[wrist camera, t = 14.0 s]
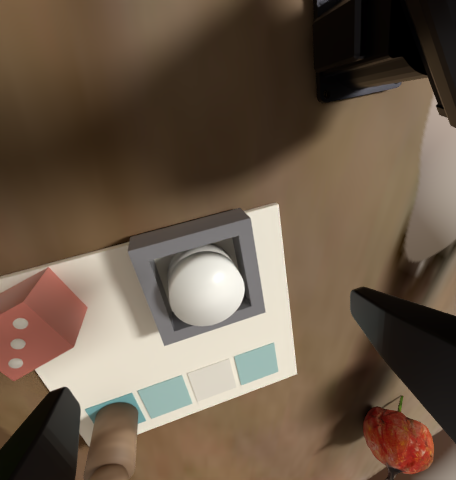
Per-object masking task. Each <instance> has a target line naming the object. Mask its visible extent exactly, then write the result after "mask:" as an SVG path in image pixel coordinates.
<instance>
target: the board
mask: <svg viewBox="0 0 456 480" xmlns="http://www.w3.org/2000/svg"><path fill="white" fill-rule="evenodd" d="M244 212H245V213H246V214H247V215H248V216H249V217H250V218H251V223H252V230H253V236H254V242H255V248H256V255H257V261H258V267H259V274H260V280H261V286H262V292H263V299H264V305H265V311H266V312H265V313H262V314H259V315H256V316H253V317H250V318H247V319H244V320H241V321H238V322H235V323H232V324H229V325H226V326H223V327H220V328H217V329H214V330H211V331H208V332H205V333H202V334H199V335H196V336H193V337H190V338H187V339H184V340H181V341H178V342H175V343H172V344H169V345H166V346H164V344H163V341H162V339H161V336H160V334H159V331H158V328H157V326H156V323H155V321H154V318H153V316H152V313H151V310H150V308H149V305H148V303H147V300H146V298H145V295H144V293H143V290H142V287H141V285H140V282H139V280H138V277H137V275H136V272H135V269H134V267H133V264H132V262H131V259H130V257H129V254H128V246H129V242H127V243H123V244H119V245H115V246H112V247H108V248H104V249H101V250H97V251H93V252H89V253H86V254H82V255H78V256H74V257H71V258H67V259H63V260H59V261H56V262H52V263H48V264H45V265H41V266H37V267H33V268H30V269H26V270H22V271H18V272H15V273H11V274H7V275H4V276H0V293H2V292H4V291H6V290H7V289H9V288H11V287H13V286H15V285H17V284H18V283H20V282H22V281H24V280H26V279H27V278H29V277H31V276H33V275H35V274H37V273H38V272H40V271H42V270H44V269H46V268H47V267H49V268H50V269H51V270H52V271H53V272H54V273H55V274H56V275H57V276H58V277H59V278H60V279H61V280H62V281H63V282H64V283H65V284H66V286H67V287H68V288H69V289H70V290H71V291H72V292H73V293H74V294H75V295H76V296H77V297H78V298H79V299H80V300H81V301H82V302H83V303H84V304H85V305H86V306H87V307H88V308H87V311H86V314H85V317H84V320H83V323H82V326H81V329H80V331H79V334H78V337H77V340H76V343H75V346H74V348H72V349H70V350H68V351H67V352H65V353H63V354H61V355H59V356H58V357H56V358H54V359H52V360H51V361H49V362H47V363H45V364H44V365H42V366H40V367H38V368H36V369H35V371H36V372H37V374H38V375H39V377H40V378H41V379H42V381H43V382H44V384H45V385H46V386H47V388H48V389H49V391H50V392H51V391H52V390H55V389H58V388H61V387H67V388H69V389H70V391H71V392H72V394H73V395H74V397H75V398H76V399H77V401H78V402H79V404H80V408H81V416H80V430H79V433H80V435H81V436H82V437H83V439H84V440H85V442H86V443H87V445H88V446H89V447H90V442H91V437H92V432H93V427H94V422H95V417H96V414H97V413H98V411H99V410H100V409H102V408H103V407H105V406H107V405H109V404H112V403H117V402H124V403H129V404H132V405H133V406H135V407H136V408H137V410H138V429H137V434H140V433H142V432H145V431H148V430H150V429H153V428H156V427H158V426H161V425H164V424H166V423H169V422H172V421H174V420H177V419H180V418H182V417H185V416H187V415H190V414H193V413H195V412H198V411H201V410H203V409H206V408H209V407H211V406H214V405H217V404H219V403H222V402H224V401H227V400H230V399H232V398H235V397H238V396H240V395H243V394H246V393H248V392H251V391H254V390H256V389H259V388H262V387H264V386H267V385H269V384H272V383H275V382H277V381H280V380H283V379H285V378H288V377H291V376H293V375H296V374H297V369H296V360H295V351H294V342H293V333H292V323H291V314H290V305H289V296H288V287H287V278H286V269H285V259H284V250H283V241H282V232H281V223H280V214H279V205H278V204H277V203H272V204H268V205H265V206H261V207H257V208H253V209H250V210H246V211H244ZM212 244H215V245H217V246H219V247H221V248H222V249H224V250H225V251H226V252H227V253H228V255H229V256H230V258H231V260H232V261H233V263H234V265H235V266H236V268H237V270H238V265H237V259H236V254H235V249H234V244H233V239H232V238H228V239H225V240H221V241H218V242H214V243H212ZM175 254H176V253H175ZM175 254H172V255H168V256H165V257H161V258H158V259H154V261H155V264H156V267H157V270H158V273H159V276H160V279H161V281H162V284H163V287H164V290H165V293H166V296H167V299H168V302H169V305H170V301H169V291H168V282H167V269H168V266H169V263H170V261H171V259H172V258H173V257H174V255H175ZM238 272H239V270H238ZM170 307H171V306H170ZM171 310H172V309H171Z"/></svg>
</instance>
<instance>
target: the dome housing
mask: <svg viewBox="0 0 456 480" xmlns="http://www.w3.org/2000/svg"><path fill="white" fill-rule="evenodd" d="M228 238H232V239H233V244H234V249H235V254H236V259H237V265H238V270H239V273H240V275H241V277H242V279H243V282H244V287H245V291H244V297H243V300H242V302H241V304H240V306H239V307H238V309H237V310H236V311H235V312H234V313H233V314H232V315H231V316H230V317H229V318H227V319H226V320H224V321H222V322H220V323H217V324H214V325H210V326H194V325H190V324H187V323H185V322H183V321H182V320H180V319H179V318H178V317H177V316H176V315H175V314H174V312H173V311H172V310H171V307H170V305H169V302H168V299H167V296H166V293H165V290H164V287H163V284H162V281H161V279H160V276H159V273H158V270H157V267H156V264H155V261H154V259H158V258H161V257H165V256H168V255H172V254H175V253H179V252H182V251H186V250H189V249H193V248H197V247H200V246H204V245H207V244H211V243H214V242H218V241H221V240H225V239H228ZM128 254H129V257H130V259H131V262H132V264H133V267H134V269H135V272H136V275H137V277H138V280H139V282H140V285H141V287H142V290H143V293H144V295H145V298H146V300H147V303H148V305H149V308H150V310H151V313H152V316H153V318H154V321H155V323H156V326H157V328H158V331H159V334H160V336H161V339H162V341H163V344H164V346H166V345H169V344H172V343H175V342H178V341H181V340H184V339H187V338H190V337H193V336H196V335H199V334H202V333H205V332H208V331H211V330H214V329H217V328H220V327H223V326H226V325H229V324H232V323H235V322H238V321H241V320H244V319H247V318H250V317H253V316H256V315H259V314H262V313H265V312H266V311H265V305H264V299H263V292H262V286H261V280H260V274H259V267H258V261H257V255H256V248H255V242H254V236H253V230H252V223H251V218H250V217H249V216H248V215H247V214H246V213H245V212H244V211H243V210H242V209H241V208H238V209H234V210H230V211H227V212H223V213H219V214H215V215H212V216H208V217H204V218H200V219H196V220H193V221H189V222H185V223H181V224H178V225H174V226H170V227H166V228H163V229H159V230H155V231H151V232H148V233H144V234H140V235H136V236H132V237H130V241H129V246H128Z"/></svg>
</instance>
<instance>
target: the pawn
mask: <svg viewBox="0 0 456 480" xmlns="http://www.w3.org/2000/svg"><path fill="white" fill-rule="evenodd" d="M137 429H138V410H137V408H136V407H135V406H133V405H132V404H129V403H124V402H117V403H112V404H109V405H107V406H105V407H103V408H102V409H100V410H99V411H98V413H97V414H96V417H95V422H94V427H93V432H92V437H91V442H90V447H89V452H88V456H87V461H86V466H85V471H84V480H130V477H131V476H132V475H133V474H134V471H135V462H136V445H137Z"/></svg>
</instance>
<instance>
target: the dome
mask: <svg viewBox="0 0 456 480" xmlns="http://www.w3.org/2000/svg"><path fill="white" fill-rule="evenodd" d="M167 282H168V291H169V301H170V306H171V309H172V311H173V312H174V314H175V315H176V316H177V317H178V318H179V319H180V320H182V321H183V322H185V323H187V324H190V325H194V326H210V325H214V324H217V323H220V322H222V321H224V320H226V319H227V318H229V317H230V316H231V315H232V314H233V313H234V312H235V311H236V310H237V309H238V307H239V306H240V304H241V302H242V300H243V297H244V291H245V287H244V282H243V279H242V277H241V275H240V273H239V272H238V270H237V268H236V266H235V265H234V263H233V261H232V260H231V258H230V256H229V255H228V253H227V252H226V251H225V250H224V249H222V248H221V247H219V246H217V245H215V244H212V243H211V244H207V245H204V246H200V247H197V248H193V249H189V250H186V251H182V252H179V253H176V254H175V255H174V257H173V258H172V259H171V261H170V263H169V266H168V269H167Z"/></svg>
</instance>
